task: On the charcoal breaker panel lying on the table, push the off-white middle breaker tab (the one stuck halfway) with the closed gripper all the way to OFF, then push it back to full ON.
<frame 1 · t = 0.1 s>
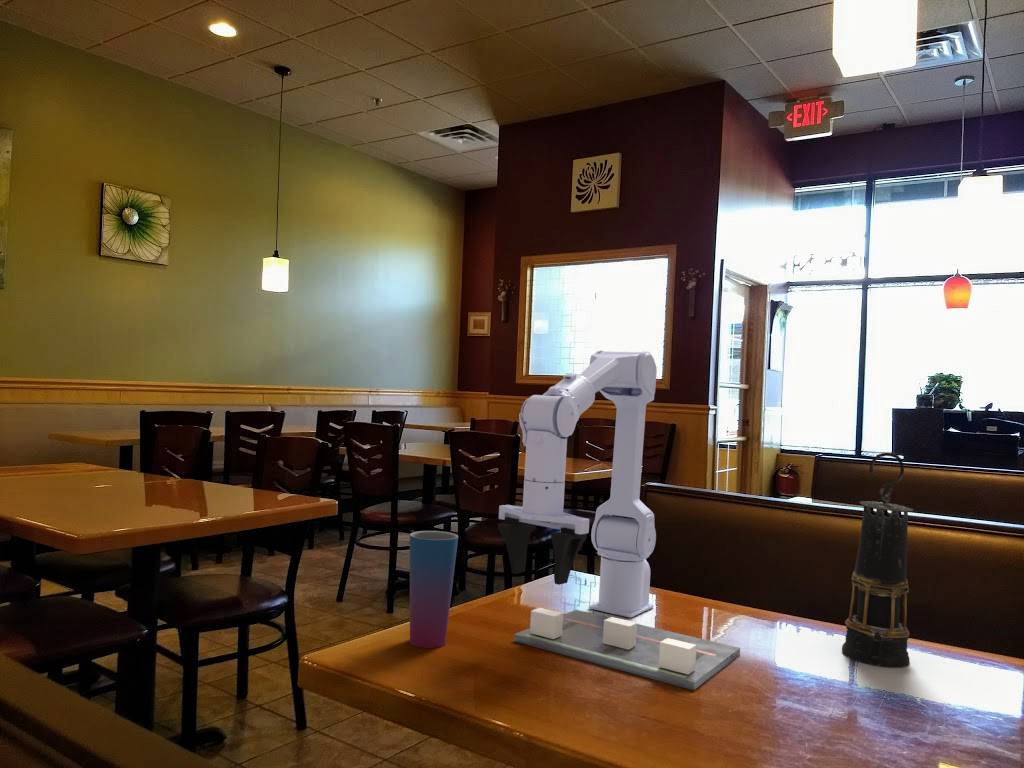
hand: (539, 577, 106), 10 cm above the table, tool pointing down, fingers open, 7 cm apart
panel: (626, 648, 109), on the table
breaker mid: (619, 632, 107), point 3 cm above the table, slide at 3.5 cm
cup: (427, 643, 107), on the table
lantern: (874, 658, 112), on the table
breaker 2: (677, 655, 98), point 3 cm above the table, slide at 7.0 cm
breaker 1: (546, 623, 110), point 3 cm above the table, slide at 7.0 cm
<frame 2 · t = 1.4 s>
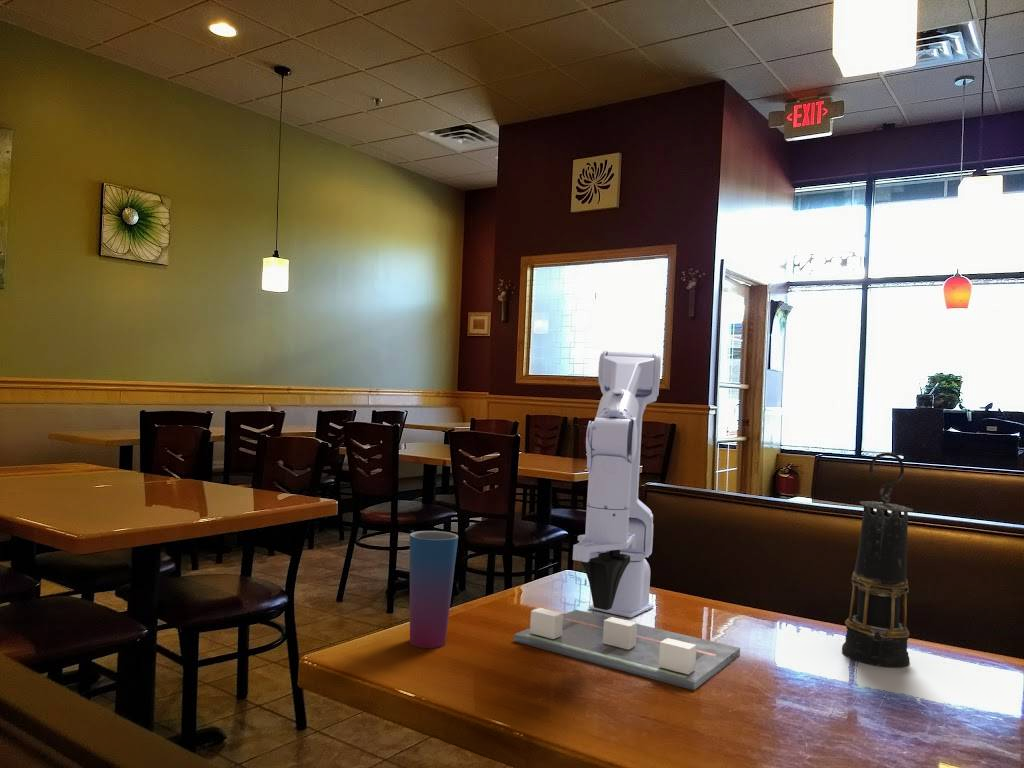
hand: (602, 607, 102), 7 cm above the table, tool pointing down, fingers closed
nothing on the table moved.
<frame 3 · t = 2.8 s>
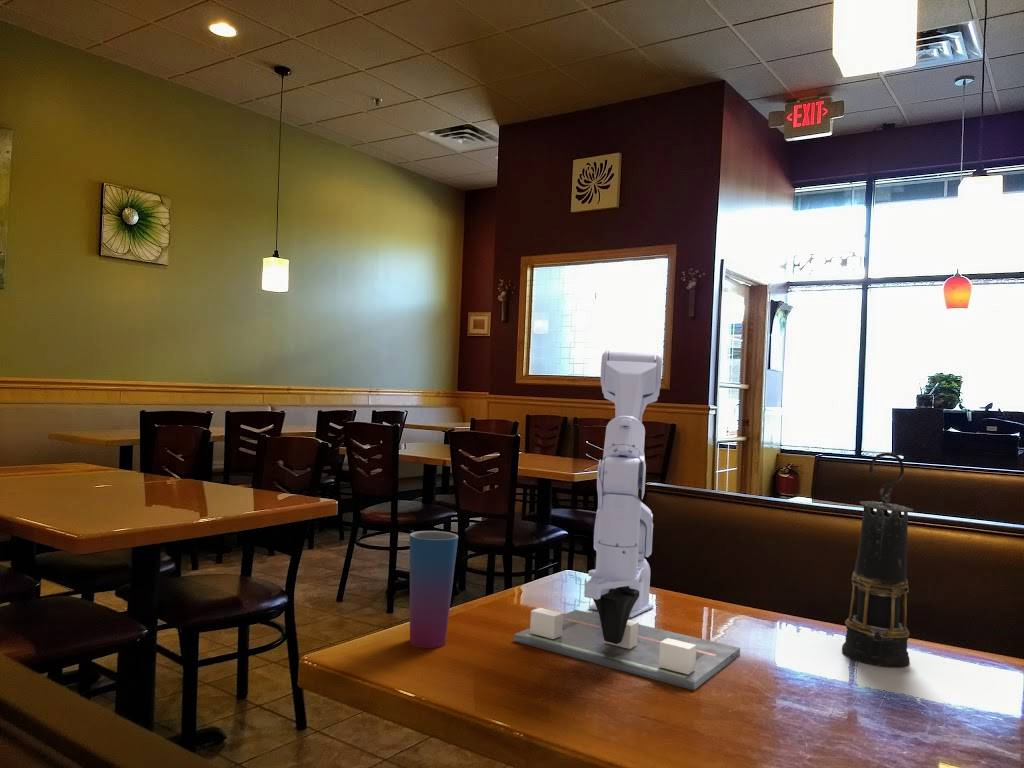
hand: (612, 641, 105), 2 cm above the table, tool pointing down, fingers closed
breaker mid: (621, 632, 107), point 3 cm above the table, slide at 3.1 cm, touching gripper
everything else where it was.
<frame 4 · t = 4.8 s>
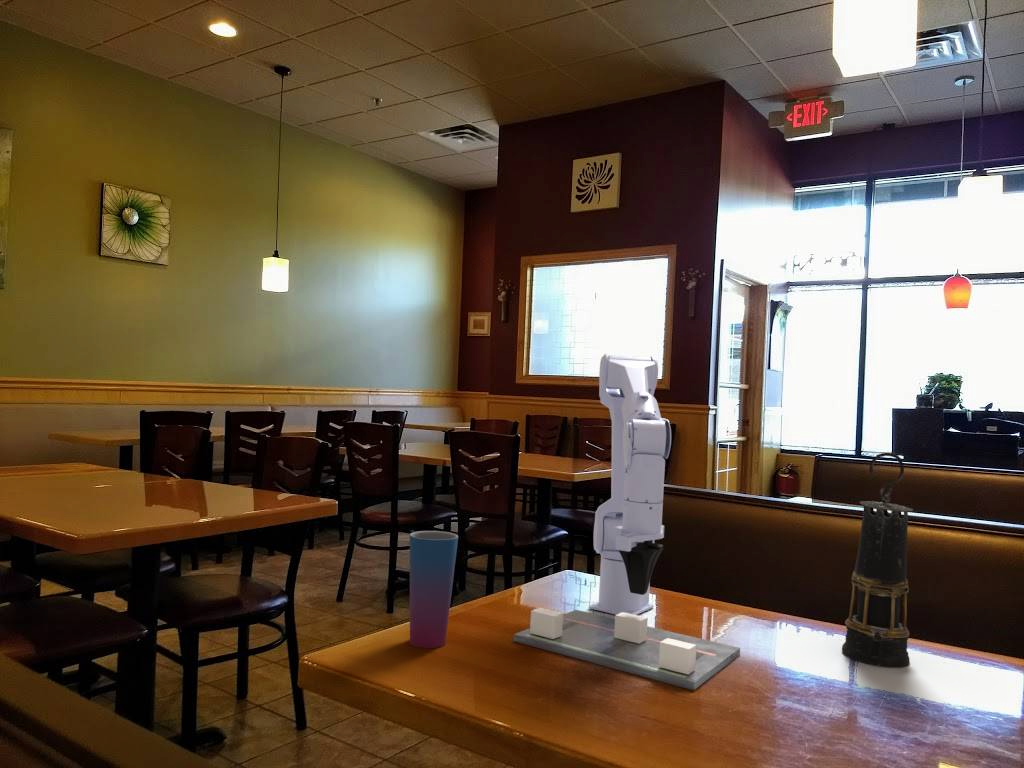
hand: (638, 592, 112), 7 cm above the table, tool pointing down, fingers closed
breaker mid: (630, 627, 110), point 3 cm above the table, slide at -0.1 cm
everything else where it was.
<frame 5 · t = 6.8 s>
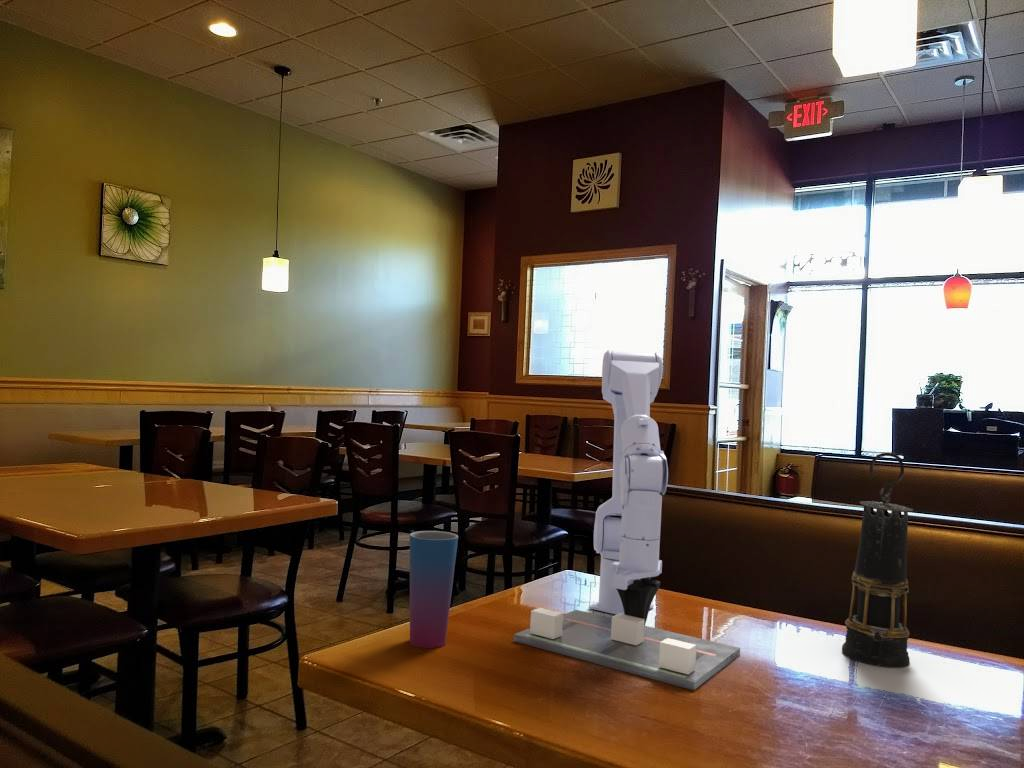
hand: (635, 630, 111), 2 cm above the table, tool pointing down, fingers closed
breaker mid: (627, 629, 109), point 3 cm above the table, slide at 1.0 cm, touching gripper
everything else where it was.
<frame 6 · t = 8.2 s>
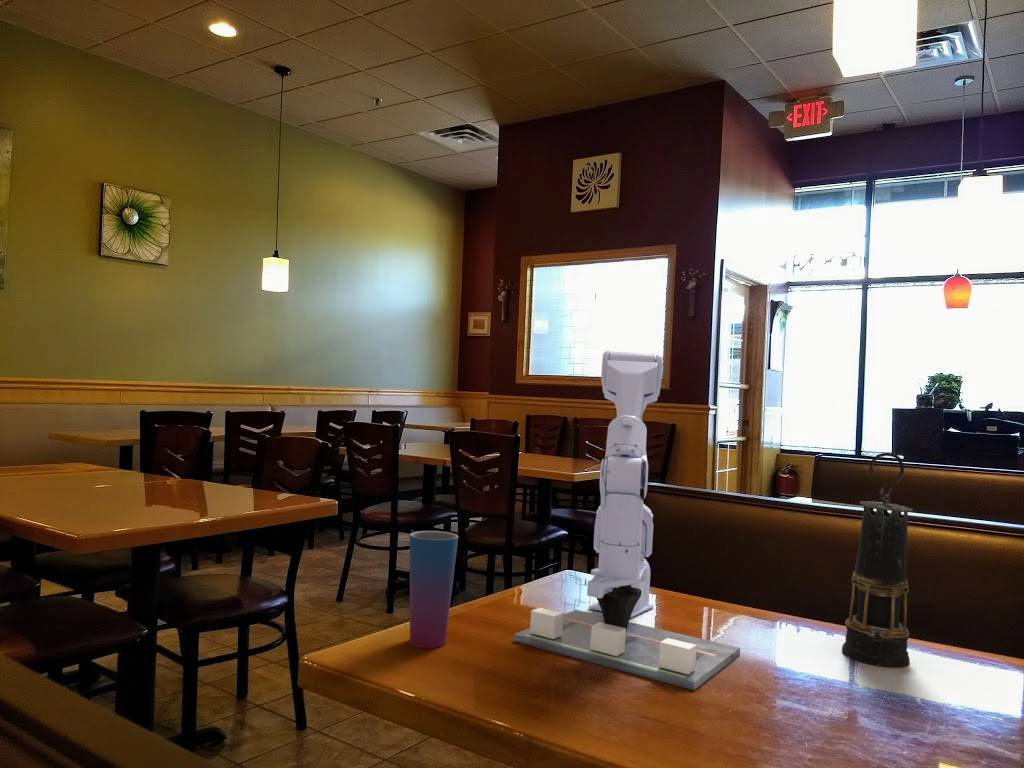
hand: (615, 640, 106), 2 cm above the table, tool pointing down, fingers closed
breaker mid: (608, 638, 104), point 3 cm above the table, slide at 7.2 cm, touching gripper
everything else where it was.
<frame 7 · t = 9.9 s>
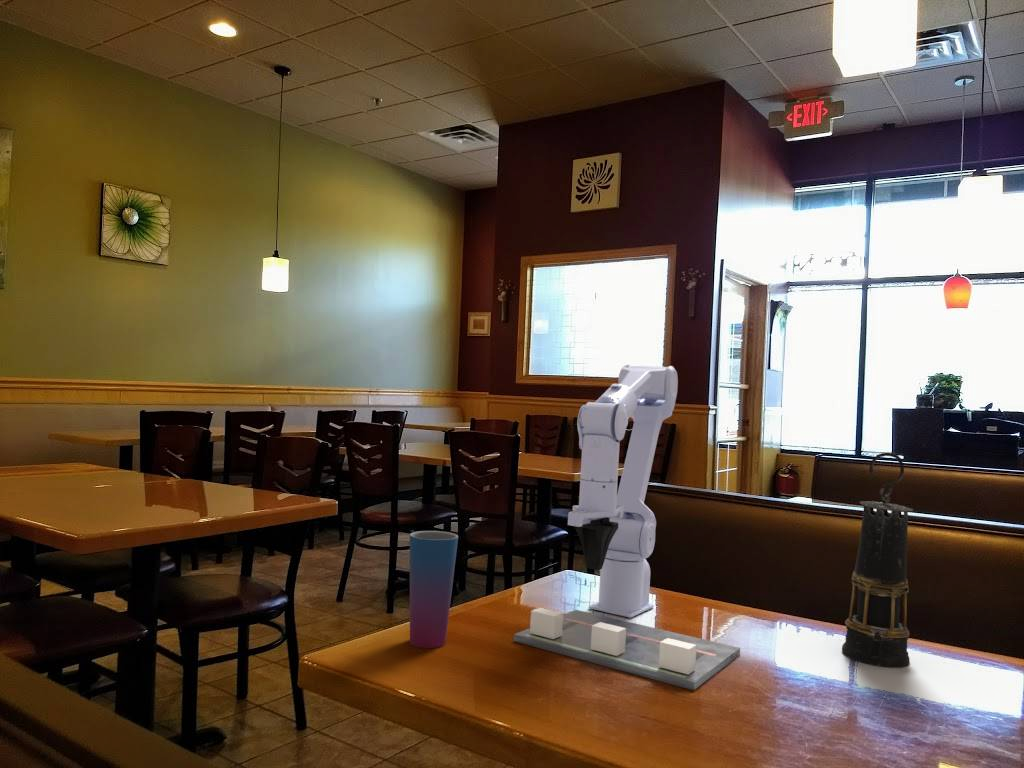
hand: (594, 568, 117), 9 cm above the table, tool pointing down, fingers closed
breaker mid: (608, 638, 104), point 3 cm above the table, slide at 7.1 cm
everything else where it was.
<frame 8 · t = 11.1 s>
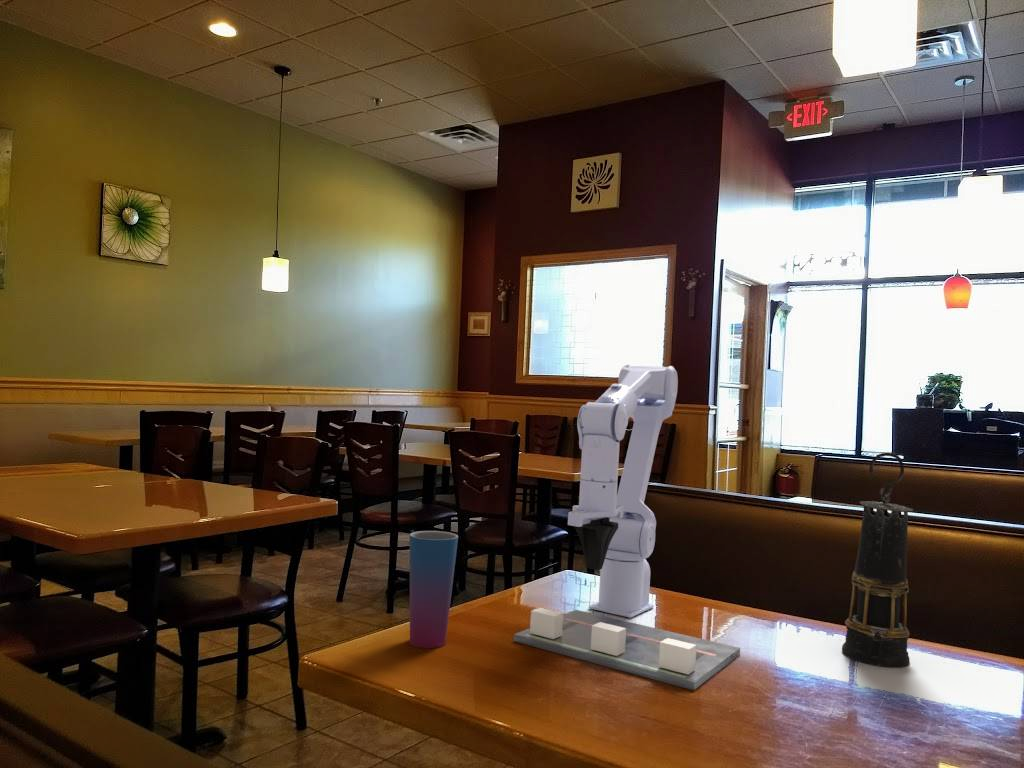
hand: (594, 568, 117), 9 cm above the table, tool pointing down, fingers closed
nothing on the table moved.
at the end: breaker mid slide at 7.1 cm; breaker 2 slide at 7.0 cm; breaker 1 slide at 7.0 cm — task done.
